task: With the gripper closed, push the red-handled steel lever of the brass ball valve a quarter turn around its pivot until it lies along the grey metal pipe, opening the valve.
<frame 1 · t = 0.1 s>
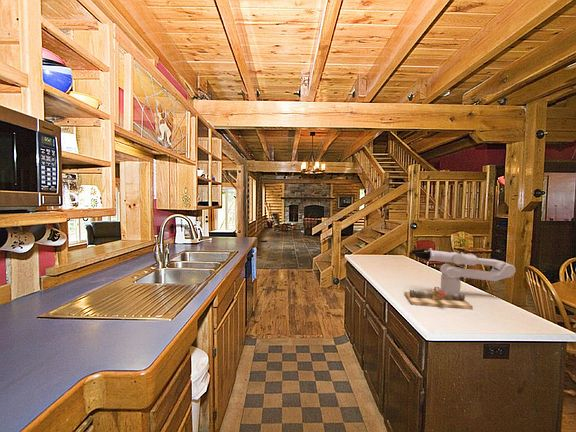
hand: (413, 253, 171), 22 cm above the counter, tool horizontal, fingers open, 7 cm apart
valve lever: (439, 291, 149), point 7 cm above the counter, hinge at 0.0°
valve board: (436, 301, 154), on the counter
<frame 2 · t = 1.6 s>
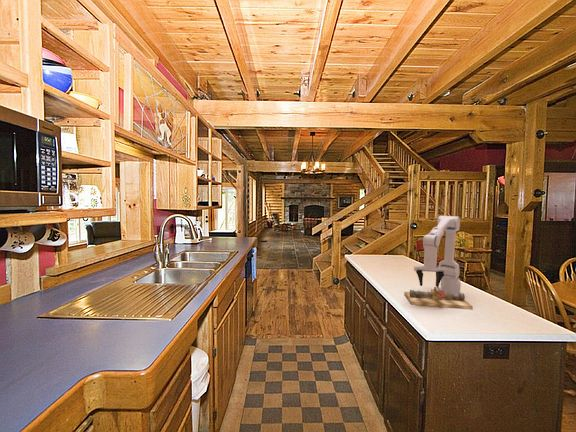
hand: (429, 285, 149), 9 cm above the counter, tool pointing down, fingers open, 7 cm apart
nothing on the counter moved.
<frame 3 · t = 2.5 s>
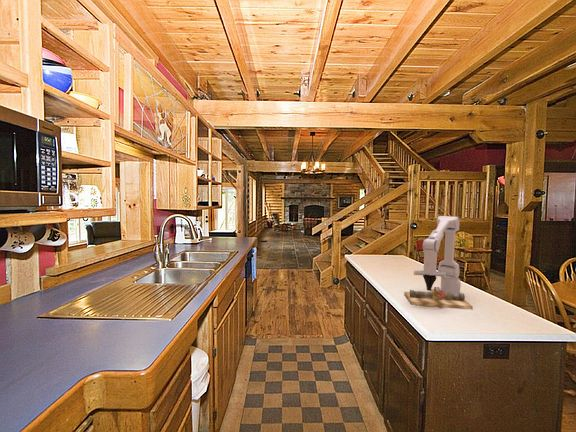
hand: (428, 290, 149), 7 cm above the counter, tool pointing down, fingers closed
nothing on the counter moved.
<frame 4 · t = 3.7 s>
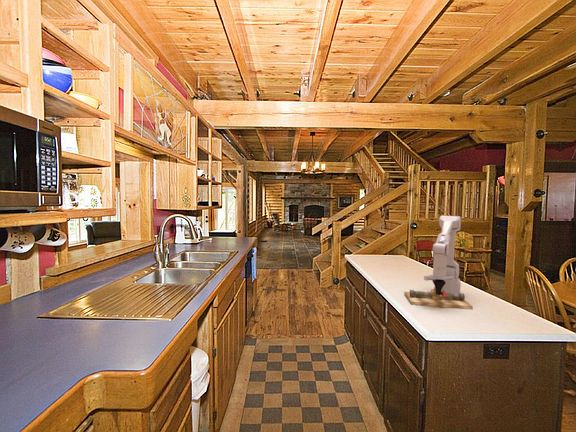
hand: (438, 294, 148), 5 cm above the counter, tool pointing down, fingers closed, pressing on valve lever
valve lever: (440, 291, 149), point 7 cm above the counter, hinge at 5.4°, touching gripper
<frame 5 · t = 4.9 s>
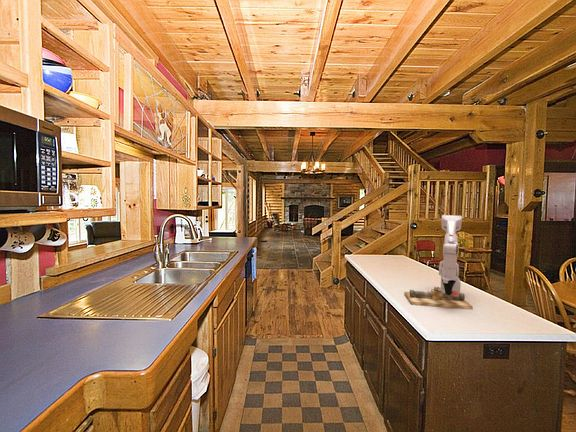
hand: (448, 294, 148), 5 cm above the counter, tool pointing down, fingers closed, pressing on valve lever
valve lever: (445, 290, 150), point 7 cm above the counter, hinge at 51.2°, touching gripper
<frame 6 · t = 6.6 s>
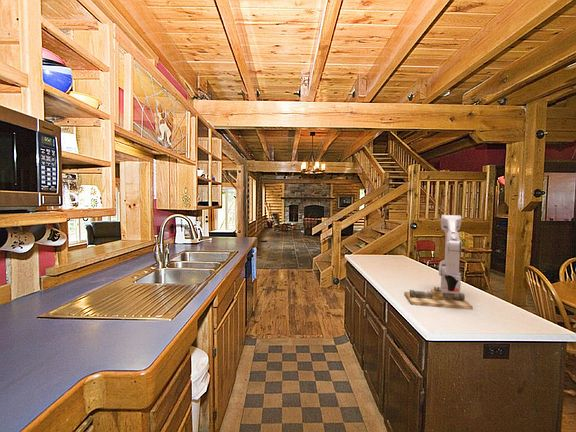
hand: (451, 290, 151), 7 cm above the counter, tool pointing down, fingers closed
valve lever: (445, 289, 153), point 7 cm above the counter, hinge at 90.3°
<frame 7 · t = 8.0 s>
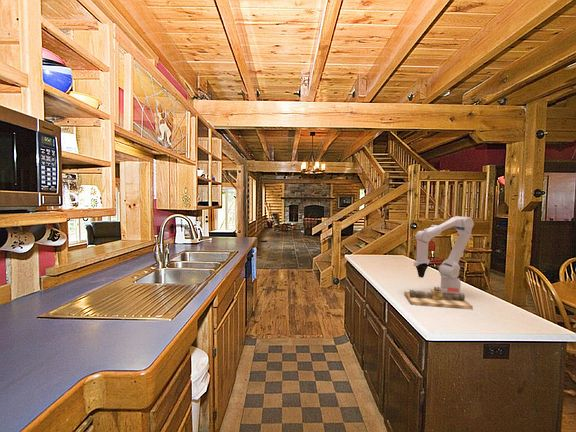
hand: (421, 277, 165), 9 cm above the counter, tool pointing down, fingers closed
nothing on the counter moved.
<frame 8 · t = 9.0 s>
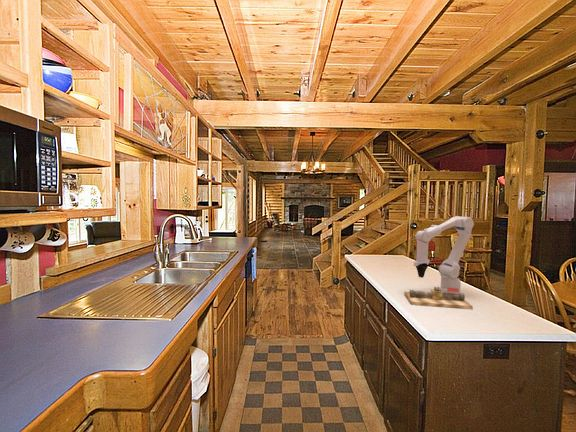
hand: (421, 277, 165), 9 cm above the counter, tool pointing down, fingers closed
nothing on the counter moved.
at the end: valve lever at +90° (first picture: +0°); the gripper is holding nothing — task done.
